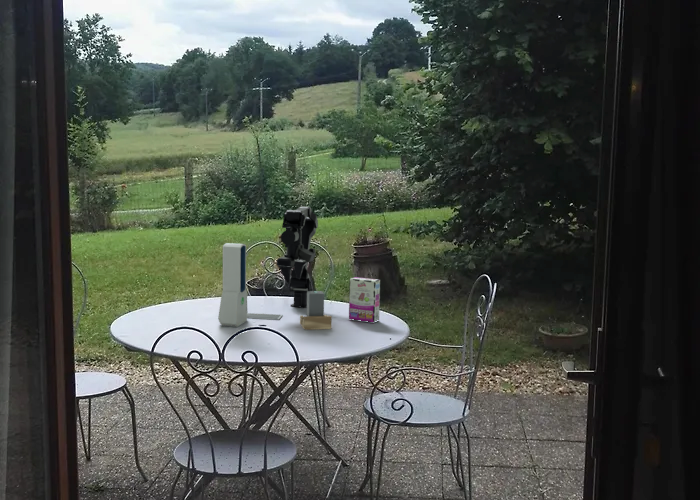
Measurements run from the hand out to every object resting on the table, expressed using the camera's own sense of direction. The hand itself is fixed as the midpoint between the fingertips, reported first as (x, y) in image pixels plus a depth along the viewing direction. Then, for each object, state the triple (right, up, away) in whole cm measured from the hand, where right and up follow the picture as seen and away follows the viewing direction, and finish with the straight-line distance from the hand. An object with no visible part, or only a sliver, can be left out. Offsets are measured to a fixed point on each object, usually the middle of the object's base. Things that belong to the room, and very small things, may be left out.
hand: (293, 280), depth 297 cm
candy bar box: (+28, -15, -8) cm, 33 cm away
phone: (-11, -14, -6) cm, 19 cm away
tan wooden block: (+10, -16, -19) cm, 27 cm away
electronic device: (-21, -15, -18) cm, 32 cm away
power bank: (+9, -15, -18) cm, 26 cm away
